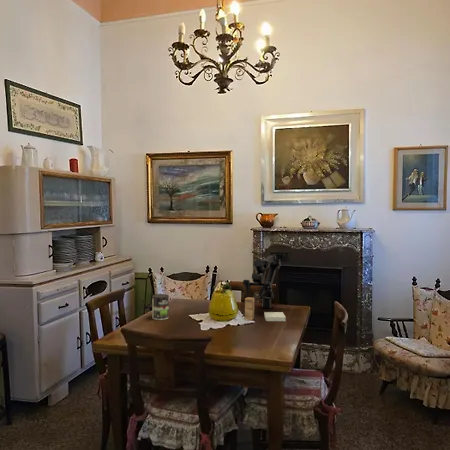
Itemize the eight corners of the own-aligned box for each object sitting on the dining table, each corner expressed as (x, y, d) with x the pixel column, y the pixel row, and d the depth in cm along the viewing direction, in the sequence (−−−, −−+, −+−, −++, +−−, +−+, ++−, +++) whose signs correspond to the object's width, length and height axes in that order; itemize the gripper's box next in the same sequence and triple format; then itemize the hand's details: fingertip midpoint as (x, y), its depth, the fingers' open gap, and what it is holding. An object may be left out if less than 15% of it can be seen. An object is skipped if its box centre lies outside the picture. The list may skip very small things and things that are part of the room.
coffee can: (171, 318, 270) (171, 296, 269) (156, 321, 264) (156, 298, 263) (163, 314, 278) (163, 293, 277) (149, 317, 272) (149, 295, 271)
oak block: (247, 317, 273) (247, 297, 273) (254, 318, 272) (254, 298, 271) (244, 319, 269) (245, 298, 269) (251, 320, 267) (251, 299, 267)
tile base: (264, 315, 278) (264, 312, 277) (282, 316, 278) (282, 312, 278) (266, 321, 266) (266, 317, 265) (285, 321, 266) (285, 317, 266)
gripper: (243, 267, 284) (237, 286, 275) (270, 269, 277) (265, 289, 267) (248, 277, 292) (241, 296, 283) (274, 279, 284) (268, 299, 275)
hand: (254, 295), depth 277 cm, fingers open, 9 cm apart
